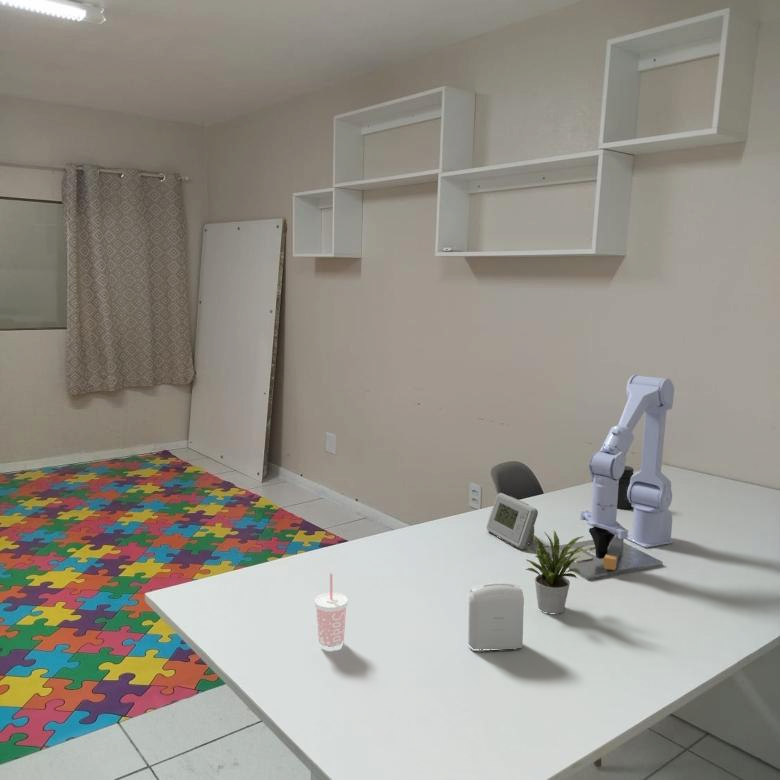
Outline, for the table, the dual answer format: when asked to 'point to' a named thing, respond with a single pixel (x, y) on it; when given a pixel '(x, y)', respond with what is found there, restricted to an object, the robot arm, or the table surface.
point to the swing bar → (613, 554)
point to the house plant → (553, 574)
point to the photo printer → (496, 616)
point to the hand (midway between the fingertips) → (601, 557)
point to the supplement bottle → (624, 489)
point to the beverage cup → (331, 617)
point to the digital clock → (512, 521)
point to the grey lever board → (594, 566)
